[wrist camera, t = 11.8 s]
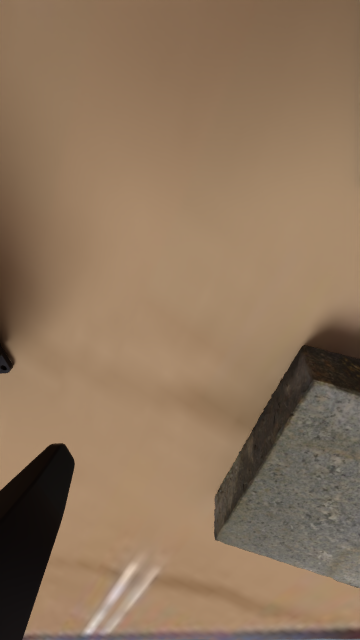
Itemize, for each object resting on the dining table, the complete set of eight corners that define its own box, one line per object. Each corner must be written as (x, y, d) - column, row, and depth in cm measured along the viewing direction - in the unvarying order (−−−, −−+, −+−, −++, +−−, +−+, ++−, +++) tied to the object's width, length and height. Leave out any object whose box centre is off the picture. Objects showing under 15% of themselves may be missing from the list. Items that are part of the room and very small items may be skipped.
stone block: (500, 389, 22) (565, 456, 17) (347, 528, 32) (364, 591, 28) (301, 333, 22) (318, 387, 17) (214, 491, 32) (211, 549, 28)
